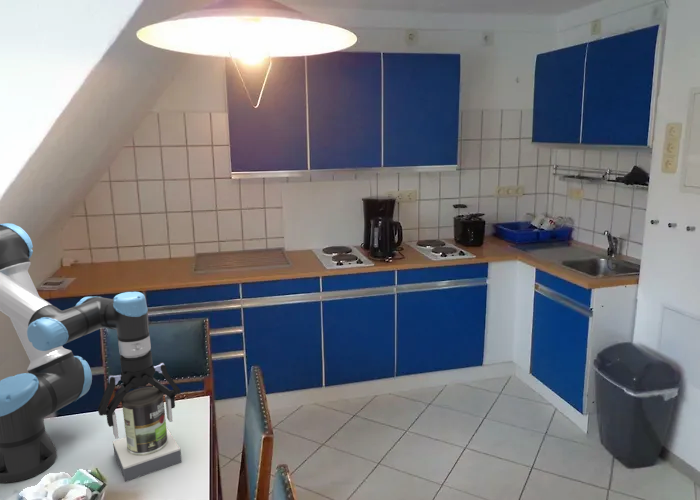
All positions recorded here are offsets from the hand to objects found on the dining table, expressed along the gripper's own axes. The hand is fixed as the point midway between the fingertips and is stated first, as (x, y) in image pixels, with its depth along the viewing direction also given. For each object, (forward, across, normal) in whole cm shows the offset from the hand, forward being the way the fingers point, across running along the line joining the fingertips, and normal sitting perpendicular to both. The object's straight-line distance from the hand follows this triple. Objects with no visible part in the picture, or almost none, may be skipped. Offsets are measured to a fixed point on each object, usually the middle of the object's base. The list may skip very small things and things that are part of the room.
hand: (143, 427), depth 138 cm
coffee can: (+5, +1, 0) cm, 5 cm away
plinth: (+9, 0, 0) cm, 9 cm away
